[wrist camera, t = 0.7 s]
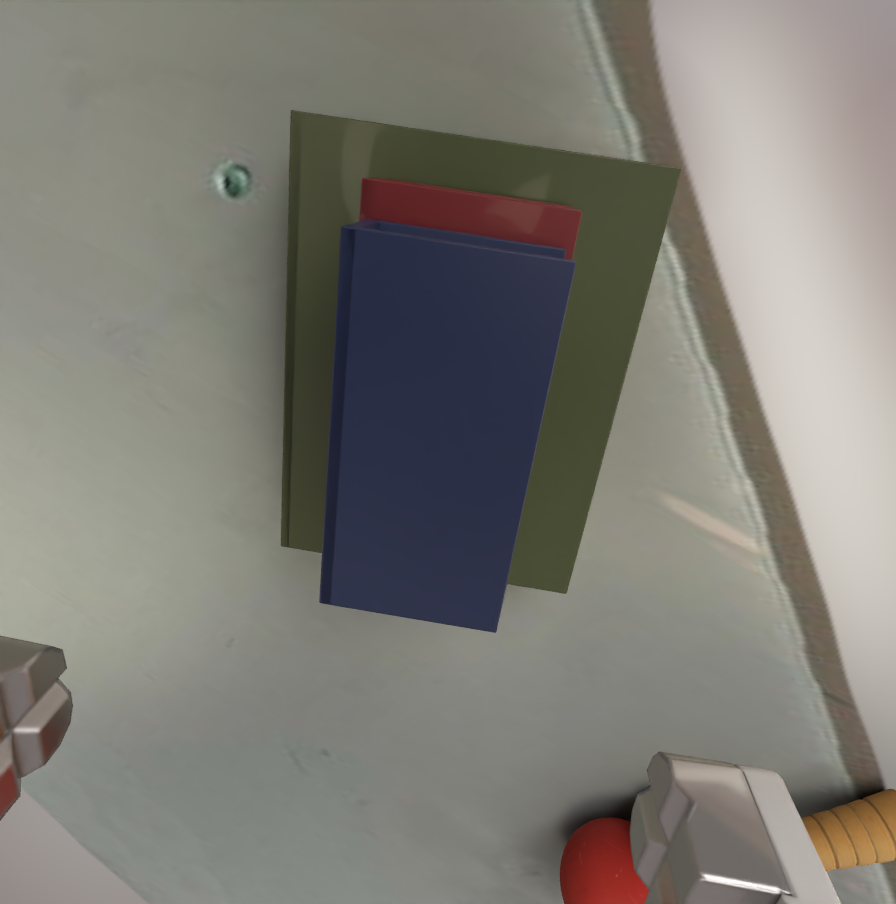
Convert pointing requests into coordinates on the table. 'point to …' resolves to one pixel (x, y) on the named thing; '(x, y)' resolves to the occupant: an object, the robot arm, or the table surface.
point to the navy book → (435, 416)
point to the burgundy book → (470, 212)
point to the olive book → (583, 333)
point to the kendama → (623, 893)
